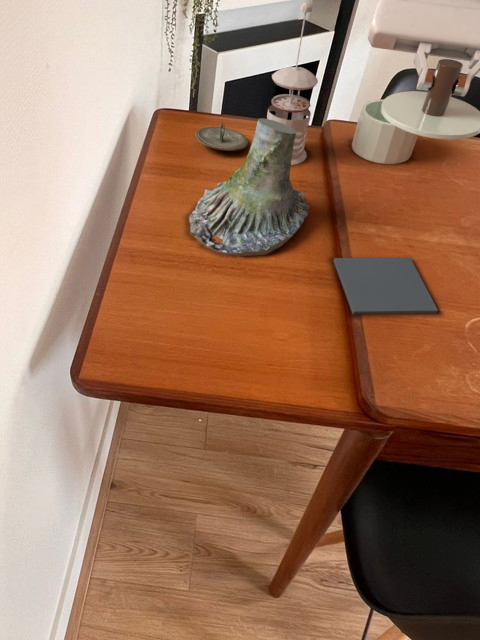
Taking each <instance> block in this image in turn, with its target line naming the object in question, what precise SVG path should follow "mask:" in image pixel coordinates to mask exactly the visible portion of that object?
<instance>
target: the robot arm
mask: <svg viewBox="0 0 480 640" xmlns="http://www.w3.org/2000/svg"><path fill="white" fill-rule="evenodd" d="M367 40H368V42H369V44H370V46H371V48H373V49H374V48H375V49H381V50H387V51H388V50H389V51H395V52H401V53H402V52H403V53H411V54H415V55H414V59H413V63H414V66H415V70H416V72H417V75H418V76H419V77H418V81H417V85H416V90H418V91H423V92H428V91H429V89H430V88H431V86H432V83H433V77H434V75H435V70H436V69H430V68H429V64H428V61H427V60H428V58H429V56H432V57H438V58H444V59H451V60H458V61H459V60H460V61H466V62H469V63H468V69H469V71H468V72H467V73H466V74H465V73H460V75H459V77H458V80H457V83H456V85H455V88H454V91H453V93H452V95H453V96H457V97H465V96H466V95H467V94H468V91H469V89H470V86H471V83H472V80H473V79H474V77H475V76H476V75H477V74H478V73H479V72H480V0H378V1H377V4H376V7H375V10H374V14H373V16H372V20H371V24H370V27H369V31H368V35H367Z"/></svg>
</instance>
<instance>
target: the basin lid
mask: <svg viewBox="0 0 480 640" xmlns="http://www.w3.org/2000/svg"><path fill="white" fill-rule="evenodd" d="M463 65H464V64H463V63H462V62H460V61H459V60H456V59H452V58H443V59H439V60H438V61H437V64H436V66H435V69H434V70H435V75H434V77H433V83H432V86H431V88H430V89H429V91H421V90H418V91H417V90H416V91H415V90H413V91H400V92H396V93H393V94H390V95H388V96H386V97H385V98H384V99H382V100H383V102H382V105H381V113H382V115H383V116H384V118H385V119H386V120H387V121H389V122H390V123H391V124H393V125H394V126H396V127H398V128H400V129H402V130H405V131H407V132H410V133H413V134H416V135H418V136H420V137H424V138H428V139H429V138H430V139H435V140H447V141H454V140H455V141H456V140H465V139H469V138H472V137H475V136H477V135H479V134H480V110H479V109H478V108H477V107H476V106H473V105H472V104H469V103H468V102H466V101H464V100H461V99H458V98H456V97H452V93H453V91H454V88H455V85H456V83H457V80H458V77H459V75H460V74H461V72H462V69H463Z"/></svg>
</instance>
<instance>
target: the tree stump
mask: <svg viewBox="0 0 480 640" xmlns="http://www.w3.org/2000/svg"><path fill="white" fill-rule="evenodd" d="M295 136H296V131H295V130H294V129H293V128H291V127H289V126H287V125H285V124H283V123H280V122H277V121H274V120H270V119H267V118H265V117H264V118H263V117H262V118H258V120H257V124H256V127H255V132H254V135H253V139H252V142H251V145H250V147H249V151H248V154H247V155H246V159H245V160H244V162H243V164H242V166H241V167H239V168H237V170H235V171H234V173H232V175H231V176H229V178H228V179H227V180H226V181H221V182H218V183H217V184H216V188H214V189H213V188H212V189H210V190H209V189H207V188H206V189H204V194H203V196H202V197H201V198H200V199H198V201H197V204H196V206H195V209H194V210H193V211H192V212H191V213H190V215H189V217H188V221H189V229H190V235H191V236H192V237H194V239H196V240H197V241H198V242H199V243H200V244H201V245H203V246H204V247H205V248H206V249H209V250H211V251H213V252H216V253H217V254H222V255H226V256H233V257H252V256H267V255H268V254H271V253H273V252H275V251H276V250H279V249H280V248H281V247H282V246H284V244H285V243H287V242H288V241H289V240H290V239H291V238H293V236H294V235H295V234H296V233H297V232H298V231H299V229H300V228H301V227H302V226H303V223H304V221H305V219H306V218H307V217H309V211H308V210H310V208H311V207H312V206H311V205H309V204H308V203H307V201H306V200H307V199H306V195H305V193H304V192H303V191H302V190H296V189H294V186H293V184H292V182H291V179H290V175H291V167H292V165H291V159H292V152H293V145H294V140H295ZM214 237H217V238H219V239H221V240H222V241H218V242H217V240H216V239H215V238H214Z"/></svg>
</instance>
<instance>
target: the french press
mask: <svg viewBox="0 0 480 640" xmlns="http://www.w3.org/2000/svg"><path fill="white" fill-rule="evenodd" d="M299 10H300V12H303V13H304V15H303V21H302V27H301V33H300V39H299V45H298V50H297V51H298V52H297V57H296V62H295V63H296V65H295V66H286V67H282V68H280V69H278V70H277V71H275V72H274V73H272V74H271V79H272V81H273V82H274V84H275V85H277V86H279V87H281V88H284V89H287V90H289V94H288V93H287V94H286V93H284V94H278V95H275V96H273V97H272V98H271V100H270V102H271V105H269V106H268V108H267V113H266V114H267V115H266V119H270V120H274V121H277V122H280V123H283V124H285V125H287V126H289V127H291V128H293V129H294V130H295V131H296V136H295V140H294V145H293V152H292V159H291V166H292V165H298V164H301V163H302V162H305V160H306V159H307V157H308V156H307V151H306V150H305V148H306V147H305V146H306V141H307V135H308V129H309V124H310V121H311V114H312V112H311V110H310V109H309V108H310V107H311V106H312V105H311V102H310V101H309V99H307V98H306V97H303V96H301V95H300V93H301V91H307V90H310V89H313V88H315V87H316V85H317V84H318V83H319V80H318V77H317V76H316V75H315V74H313V73H312V72H311V71H310V70H308V69H307V68H304V67H301V66H298V65H299V64H298V63H299V59H300V54H301V53H300V52H301V47H302V40H303V34H304V28H305V24H306V23H305V22H306V16H307V13H311V12H312V10H313V5H312V4H311V2H309V1H304V2H302V4H301V5H300V8H299ZM294 91H297V95H295V94H294ZM271 112H275V114H273V113H271ZM289 113H291V119H288V117H289ZM306 116H307V117H306ZM304 117H305V118H304ZM303 131H304V132H303Z"/></svg>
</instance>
